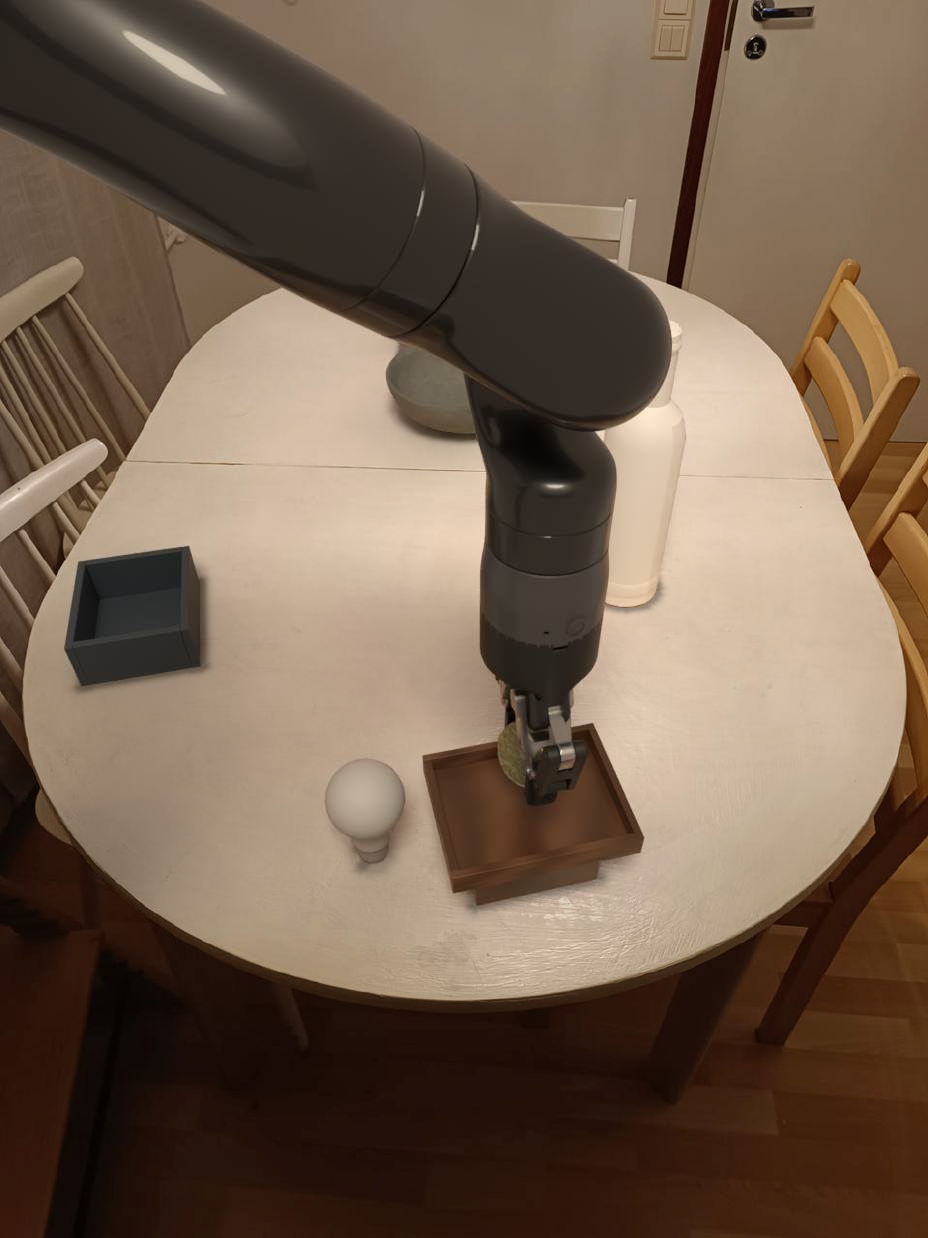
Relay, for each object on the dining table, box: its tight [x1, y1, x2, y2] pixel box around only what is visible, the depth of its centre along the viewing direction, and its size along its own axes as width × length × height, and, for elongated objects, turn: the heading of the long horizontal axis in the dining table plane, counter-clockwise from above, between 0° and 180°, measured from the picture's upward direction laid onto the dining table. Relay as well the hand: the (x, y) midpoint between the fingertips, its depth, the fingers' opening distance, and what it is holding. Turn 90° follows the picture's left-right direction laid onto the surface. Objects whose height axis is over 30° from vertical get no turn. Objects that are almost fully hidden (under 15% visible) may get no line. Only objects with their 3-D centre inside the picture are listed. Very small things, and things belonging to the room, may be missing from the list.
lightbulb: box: [324, 757, 406, 864], centre depth 66 cm, size 6×6×11 cm
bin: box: [63, 545, 201, 687], centre depth 88 cm, size 12×14×5 cm
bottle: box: [603, 319, 687, 608], centre depth 84 cm, size 8×8×30 cm
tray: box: [422, 722, 645, 907], centre depth 67 cm, size 14×11×8 cm
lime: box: [497, 720, 548, 788], centre depth 61 cm, size 4×5×5 cm
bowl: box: [385, 346, 475, 434], centre depth 119 cm, size 21×21×8 cm
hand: (529, 768), depth 62 cm, fingers closed on lime, 5 cm apart
